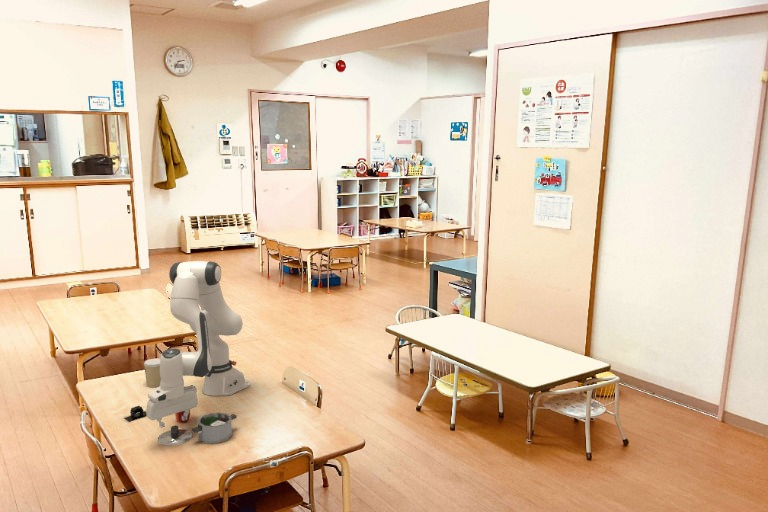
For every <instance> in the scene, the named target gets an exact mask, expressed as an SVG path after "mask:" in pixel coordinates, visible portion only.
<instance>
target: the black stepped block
mask: <svg viewBox="0 0 768 512" xmlns="http://www.w3.org/2000/svg"><path fill="white" fill-rule="evenodd" d="M129 413H130V415H128V416H125V417H123V419H124V420H125V421H128V422H129V423H130V422H134V421H137V420H140V419H142V418H147V415H146V410H145V411H144V409H143V407H142V406H140V405H137V406H132V407H131V408H130V412H129Z"/></svg>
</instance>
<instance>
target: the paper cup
mask: <svg viewBox="0 0 768 512" xmlns="http://www.w3.org/2000/svg"><path fill="white" fill-rule="evenodd" d="M187 386H188V385H187ZM187 386H185V385H184V387H187ZM184 412H185V411H182V412H178V413H175V414H174V415H175V422H176V423H177V424H185V423H188V422H189V421H190V420H191V411H190V412H189V414H188V416H187V420H185V421H183V420H182V415H184Z"/></svg>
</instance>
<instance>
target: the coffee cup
mask: <svg viewBox="0 0 768 512" xmlns="http://www.w3.org/2000/svg"><path fill="white" fill-rule="evenodd" d="M143 367H144V373H145V382H146V387H147V388H151V389H156V388H158V387H159V386H160V382H161V376H160V357H158V358H155V357H154V358H149V359H146V360H144V362H143Z"/></svg>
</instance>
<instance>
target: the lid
mask: <svg viewBox="0 0 768 512" xmlns="http://www.w3.org/2000/svg"><path fill="white" fill-rule="evenodd" d="M192 438H193V432H192V431H191V430H188V429H184V428H179V425H172V426H171V427H170V430H167V431H164V432H163V433H160V434H159V435H158V436H157V443H159V444H160V445H162V446H179V445H182V444H185V443H186V442H187V443H188V442H189V441H190V440H192Z"/></svg>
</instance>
